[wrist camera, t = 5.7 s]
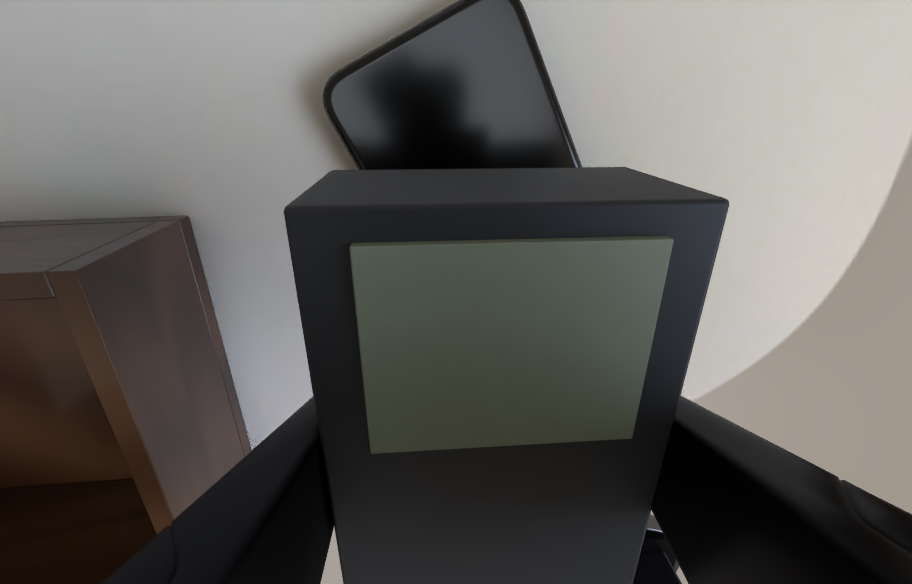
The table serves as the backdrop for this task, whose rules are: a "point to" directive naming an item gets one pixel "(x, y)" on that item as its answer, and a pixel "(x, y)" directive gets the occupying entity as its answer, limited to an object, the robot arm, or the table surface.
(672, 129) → the table surface
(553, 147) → the smartphone
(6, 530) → the case
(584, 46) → the table surface
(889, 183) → the table surface
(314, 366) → the black lcd device
